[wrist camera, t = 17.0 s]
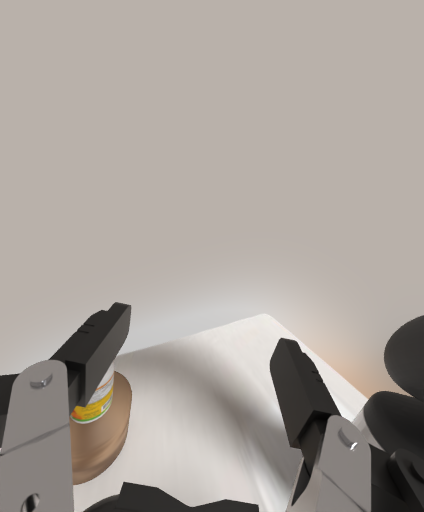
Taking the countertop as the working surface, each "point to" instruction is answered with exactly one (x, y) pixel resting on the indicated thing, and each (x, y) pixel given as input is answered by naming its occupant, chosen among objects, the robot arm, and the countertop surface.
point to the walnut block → (101, 435)
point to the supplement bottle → (96, 400)
